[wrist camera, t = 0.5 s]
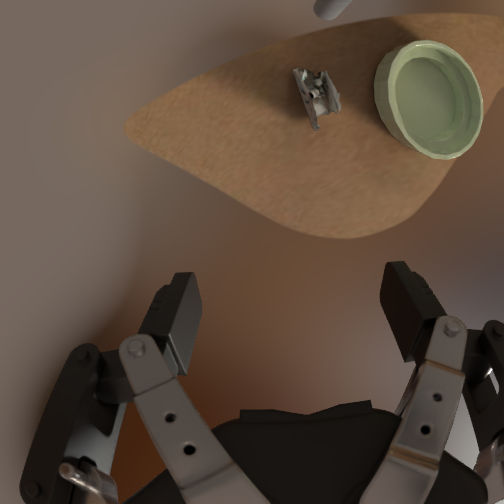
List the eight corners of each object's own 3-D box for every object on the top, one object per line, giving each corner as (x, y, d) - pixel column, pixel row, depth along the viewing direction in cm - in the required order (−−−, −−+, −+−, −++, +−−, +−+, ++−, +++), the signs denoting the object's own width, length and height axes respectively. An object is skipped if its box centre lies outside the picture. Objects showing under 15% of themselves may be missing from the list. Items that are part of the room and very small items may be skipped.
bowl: (367, 37, 25) (382, 29, 21) (459, 58, 24) (479, 56, 20) (373, 148, 32) (388, 155, 28) (460, 155, 31) (480, 163, 27)
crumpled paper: (310, 131, 32) (321, 137, 26) (288, 71, 28) (294, 63, 22) (342, 122, 31) (359, 126, 25) (321, 62, 28) (334, 53, 22)
